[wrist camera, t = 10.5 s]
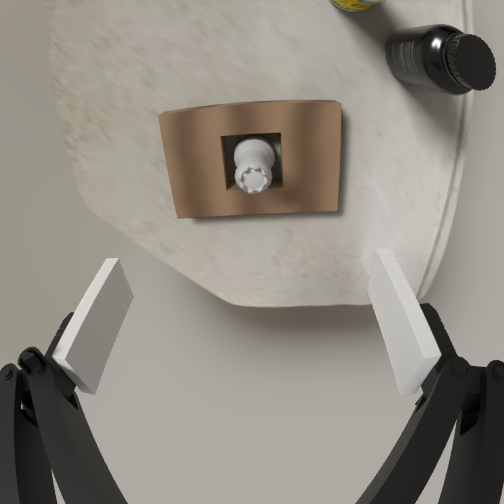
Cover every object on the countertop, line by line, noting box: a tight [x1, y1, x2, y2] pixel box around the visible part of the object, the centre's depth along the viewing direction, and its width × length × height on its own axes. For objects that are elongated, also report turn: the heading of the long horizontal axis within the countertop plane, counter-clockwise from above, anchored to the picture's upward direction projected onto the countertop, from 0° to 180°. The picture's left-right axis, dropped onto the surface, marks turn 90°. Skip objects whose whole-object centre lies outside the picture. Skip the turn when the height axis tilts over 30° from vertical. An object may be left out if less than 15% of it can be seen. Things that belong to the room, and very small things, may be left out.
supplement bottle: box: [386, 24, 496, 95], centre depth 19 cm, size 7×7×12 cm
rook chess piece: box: [234, 136, 275, 194], centre depth 28 cm, size 4×4×8 cm
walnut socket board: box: [159, 100, 341, 219], centre depth 31 cm, size 18×12×2 cm, turn 94°
